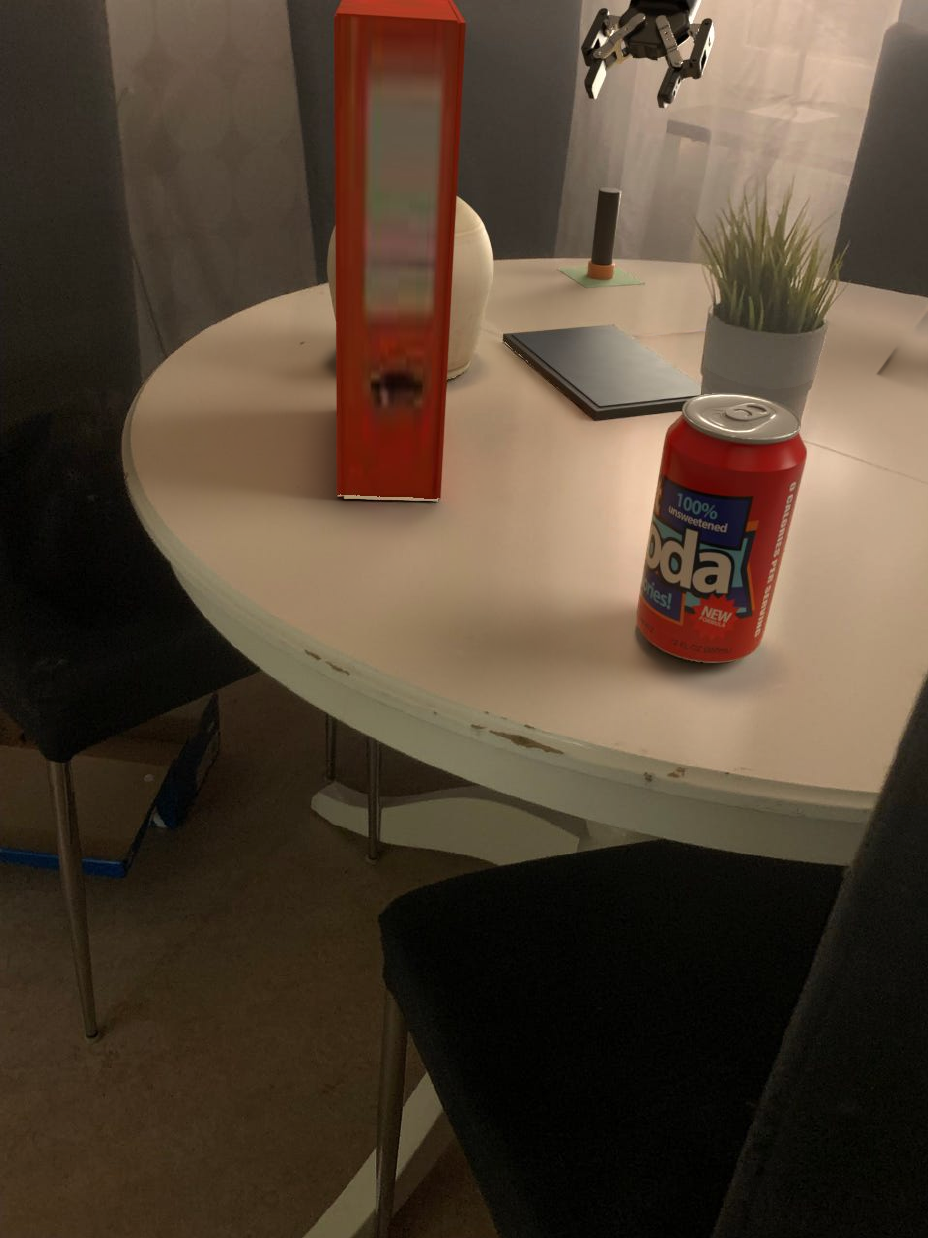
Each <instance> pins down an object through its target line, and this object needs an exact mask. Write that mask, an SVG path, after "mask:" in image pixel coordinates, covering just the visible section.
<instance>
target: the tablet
mask: <svg viewBox="0 0 928 1238" xmlns="http://www.w3.org/2000/svg"><path fill="white" fill-rule="evenodd" d="M503 341H504V342H506V343H507V344H508V345H509V346H510V347H511V348H512V349H513V350H514V351H516V352H517V353H518V354H520V355H521V356H522V357H523V358H524V359H525V360H527V361H528V363H529V364H531V366H533V367H534V368H535V369H536V370H537V371H538V372H537V371H536V370H535V369H534V368H533V367H532V368H533V369H534V370H535V371H536V372H537V373H539V372H540V373H541V374H542V375H543V376H544V377H545V378H544V377H543V376H542V375H541V374H540V373H539V374H540V375H541V376H542V377H543V378H544V379H546V380H547V381H548V380H549V381H550V382H551V383H552V385H553V384H554V385H555V386H556V387H558V388H559V389H560V390H561V391H562V392H563V393H564V394H565V395H564V394H563V393H562V392H561V391H560V390H559V389H558V390H559V391H560V392H561V393H562V394H563V395H564V396H565V397H566V398H568V397H569V398H570V399H571V400H572V401H571V400H570V399H569V398H568V399H569V400H570V401H571V402H573V403H574V404H575V403H576V404H577V405H578V406H577V405H576V404H575V405H576V406H577V407H578V408H580V409H581V410H582V411H583V412H584V411H585V412H584V413H586V414H587V413H588V414H589V415H590V416H591V417H592V418H591V417H590V416H589V415H588V414H587V415H588V416H589V417H590V418H591V419H593V421H601V420H600V419H603V420H607V419H606V418H611V419H617V418H616V417H619V418H628V417H635V416H636V417H637V416H644V415H653V414H661V413H662V414H663V413H670V412H679V411H680V412H681V411H682V408H683V405H684V404H685V403H686V402H687V401H688V400H689V399H691V398H694V397H696V396H700V394H701V384H702V383H701V382H699V381H698V380H697V379H695V378H694V377H693V376H691V375H689V374H687V372H685V371H684V370H682V369H681V368H679V367H678V366H676V365H675V364H673V363H672V362H670V361H669V360H667V359H666V358H664V357H663V356H661V355H660V354H658V353H657V352H656V351H654V350H652V349H651V348H650V347H648V346H647V345H645V344H644V343H643V342H641V341H639V340H638V339H636V338H635V337H633V336H632V335H631V334H629V333H627V332H626V331H624V330H623V329H622V328H621V327H619V326H617V325H615V324H601V325H592V326H589V325H588V326H579V327H567V328H556V329H541V330H531V331H520V332H519V331H518V332H507V333H503V334H502V342H503ZM512 349H511V350H512ZM513 350H512V351H513ZM514 351H513V352H514ZM528 363H527V364H528ZM529 364H528V365H529ZM531 366H530V367H531ZM549 381H548V382H549ZM550 382H549V383H550ZM551 383H550V384H551ZM554 385H553V386H554ZM555 386H554V387H555ZM556 387H555V388H556ZM604 418H605V419H604ZM619 418H618V419H619Z"/></svg>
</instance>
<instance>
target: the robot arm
mask: <svg viewBox="0 0 928 1238" xmlns="http://www.w3.org/2000/svg"><path fill="white" fill-rule="evenodd" d="M701 1H702V0H630V1H629V5H628V7H627V9H626V10H625V11H624V13H622V14H621V15H613V14H610V12H609V9H608V8H607V7H601V8H600V9H599V10H598V11H597V14H596V16H595V17H594V20H593V22H592V23H591V26H590V28H589V30H588V32H587V34H586V36H585V38H584V41H582V44H581V46H580V50H581V54H582V57H583V61H584V65H585V66H586V67H588V70H587V73H586V75H585V78H584V80H583V83H584V89H585V91H586V94H587V97H588V99H590V100H597V98H598V95H599V93H600V90H601V88H602V86H603V83H604V81H605V78H606V76H607V71H609V70H610V69H611V68H612V67H614V66H615V65H616V64H618V65H621V64H623V63H625V62H626V61H627V60H629V59H630V58H631V57H632V58H633V59H638V60H639V59H648V60H651V61H657V62H658V61H659V60H660V59H663V58H664V59H665V61H666V63H667V66H668V67H667V70H666V71H665V74H664V77H663V79H662V82H661V84H660V87H659V88H658V89H659V90H658V92H657V94H656V100H657V106H658V108H659V109H667V106H668V105H671V104H672V103H673V102H674V101H675V99H676V96H677V93H678V91H679V89H680V86H681V84H682V82H684V81H685V79H688V78H691V79H692V80H700V79H701V78H702V76H703V74H704V72H705V68H706V66H707V62H708V59H709V57H710V56H709V55H710V52H711V49H712V47H713V43H714V41H715V31H714V23H713V19H712V18H710V17H707V18H704V19H703V20H701V22H700V23H693V21H694V19H695V16H696V14H697V11H698V9H699V7H700V5H701ZM690 38H692V42H693V47H692V50H691V53H690V56H689V58H687V59H683V57H682V55H681V52H680V50H679V47H681V45H683V44H684V43H686V42H687V41H688V40H689V39H690ZM607 39H608V40H607ZM622 43H624V47H623V48H622V47H621V46H622Z"/></svg>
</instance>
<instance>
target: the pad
mask: <svg viewBox="0 0 928 1238" xmlns="http://www.w3.org/2000/svg"><path fill="white" fill-rule="evenodd" d="M557 270H558V271H559V272H561V273H562V274H564V275H565V276H567V277H568V278H570V279H571V280H573V281H574V282H576V283H577V284H579V285H580V286H582V287H583V288H586V289H595V288H608V287H622V286H624V287H625V286H636V285H646V283H645V282H643V281H641V280H640V279H638V278H637V277H635V276H633V275H631V274H630V273H628V272H626V271H625V270H623V269H622V268H620V267H618V266H616V265H615V266H614V275H613V278H612V279H608V280H599V279H593V278H590V277H588V276H587V270H588V266H581V267H568V268H565V267H564V268H557Z"/></svg>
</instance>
